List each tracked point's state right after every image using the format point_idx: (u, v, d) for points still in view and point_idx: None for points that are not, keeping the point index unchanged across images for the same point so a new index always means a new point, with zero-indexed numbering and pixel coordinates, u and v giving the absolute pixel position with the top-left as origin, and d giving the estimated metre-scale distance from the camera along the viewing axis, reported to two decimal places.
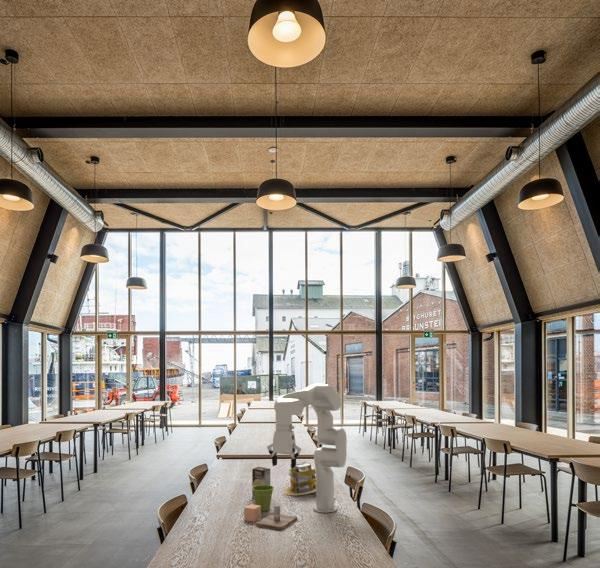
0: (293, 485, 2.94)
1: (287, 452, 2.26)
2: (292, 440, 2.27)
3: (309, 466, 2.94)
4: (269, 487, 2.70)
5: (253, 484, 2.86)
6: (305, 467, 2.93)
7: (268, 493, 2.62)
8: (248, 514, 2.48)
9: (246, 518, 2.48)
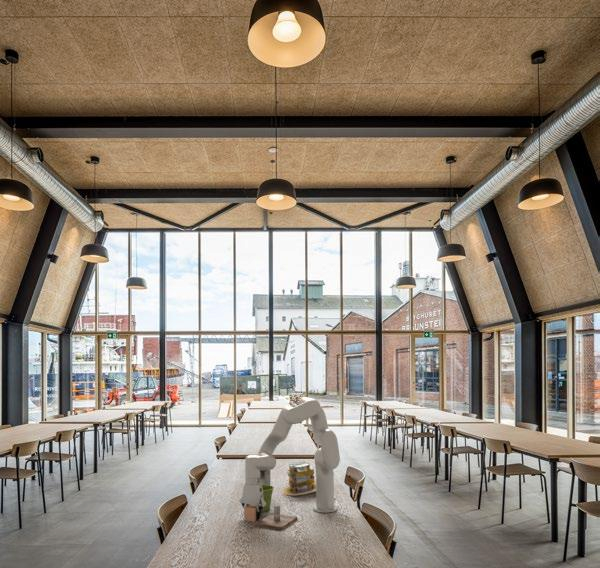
0: (291, 485, 2.94)
1: (255, 504, 2.48)
2: (260, 492, 2.49)
3: (307, 466, 2.93)
4: (269, 487, 2.70)
5: None
6: (303, 467, 2.92)
7: (268, 493, 2.62)
8: (248, 514, 2.48)
9: (246, 518, 2.48)
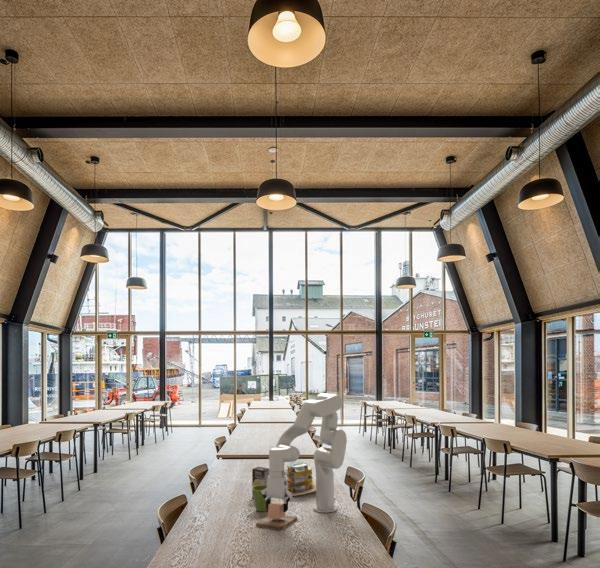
0: (289, 485, 2.93)
1: (280, 497, 2.42)
2: (284, 486, 2.43)
3: (305, 466, 2.93)
4: None
5: (253, 484, 2.86)
6: (301, 467, 2.92)
7: None
8: (272, 511, 2.42)
9: (270, 516, 2.42)
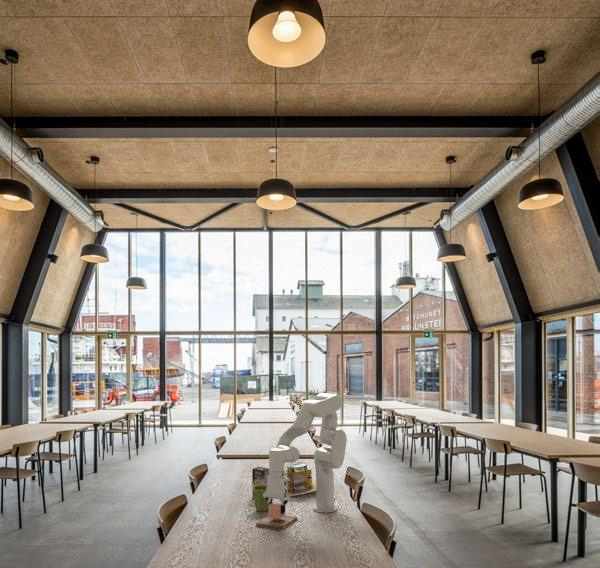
0: (289, 485, 2.93)
1: (280, 498, 2.42)
2: (284, 486, 2.43)
3: (305, 466, 2.93)
4: None
5: (253, 484, 2.86)
6: (301, 467, 2.92)
7: None
8: (272, 511, 2.42)
9: (270, 516, 2.42)
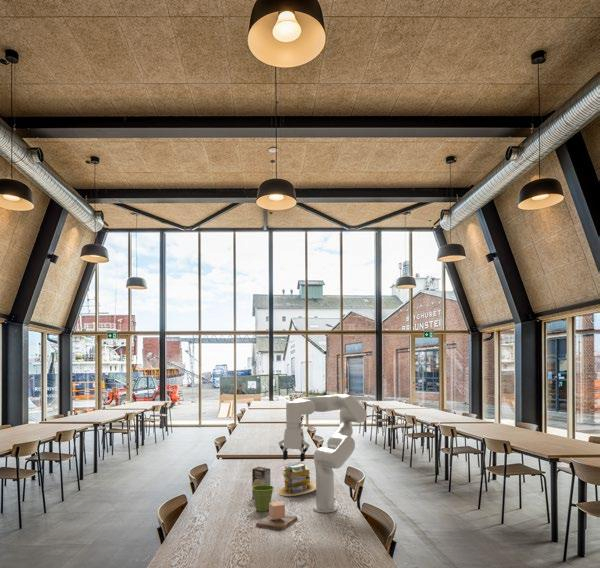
0: (287, 486, 2.93)
1: (297, 447, 2.51)
2: (301, 436, 2.52)
3: (303, 467, 2.92)
4: (269, 487, 2.70)
5: (253, 484, 2.86)
6: (299, 468, 2.92)
7: (268, 493, 2.62)
8: (278, 512, 2.42)
9: (275, 517, 2.41)
